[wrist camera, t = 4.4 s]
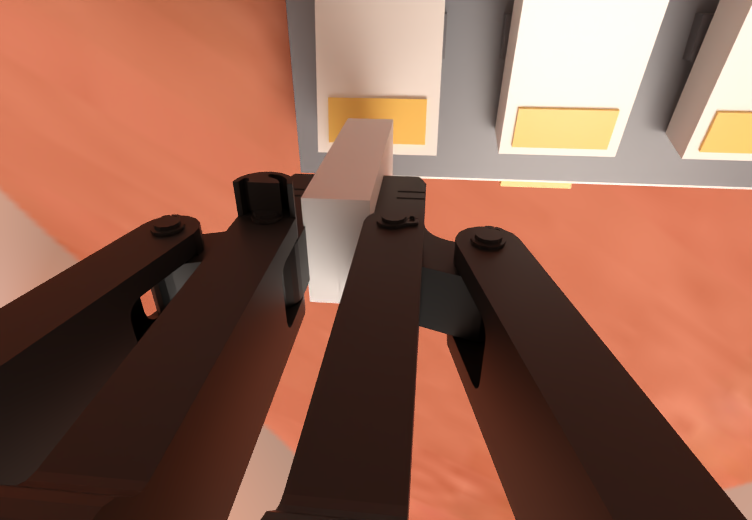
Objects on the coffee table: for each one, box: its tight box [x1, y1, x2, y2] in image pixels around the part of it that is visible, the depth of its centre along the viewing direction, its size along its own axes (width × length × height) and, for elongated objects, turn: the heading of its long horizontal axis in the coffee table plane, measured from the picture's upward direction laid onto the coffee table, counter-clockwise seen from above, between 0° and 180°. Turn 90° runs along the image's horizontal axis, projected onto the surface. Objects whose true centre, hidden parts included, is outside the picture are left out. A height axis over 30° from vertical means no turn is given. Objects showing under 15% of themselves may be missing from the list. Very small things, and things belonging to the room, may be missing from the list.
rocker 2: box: [495, 0, 669, 157], centre depth 18 cm, size 8×4×2 cm, turn 179°
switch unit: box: [286, 0, 752, 189], centre depth 21 cm, size 13×22×6 cm, turn 90°
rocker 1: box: [315, 0, 445, 156], centre depth 18 cm, size 8×4×2 cm, turn 1°
